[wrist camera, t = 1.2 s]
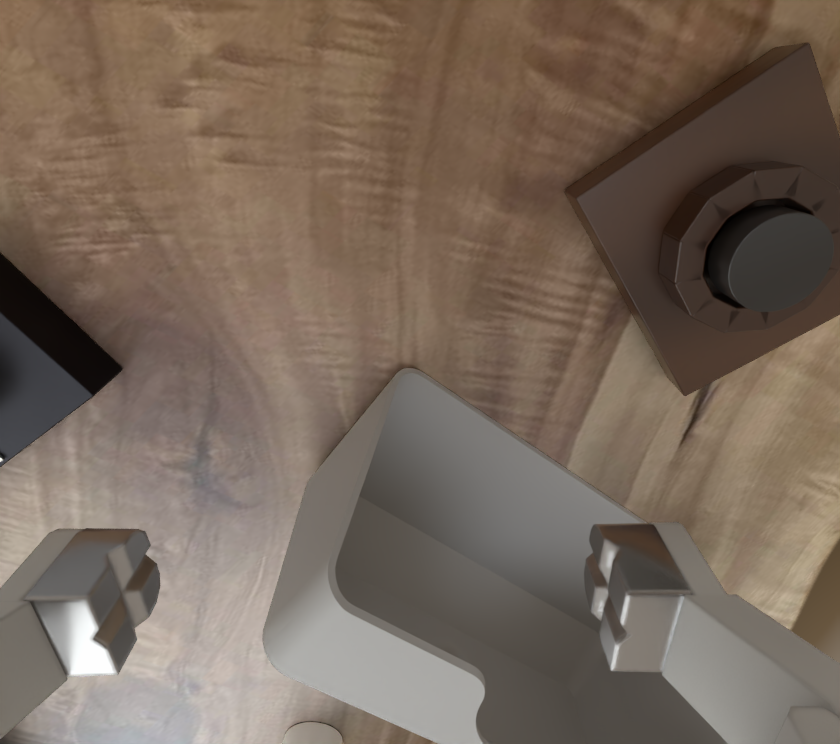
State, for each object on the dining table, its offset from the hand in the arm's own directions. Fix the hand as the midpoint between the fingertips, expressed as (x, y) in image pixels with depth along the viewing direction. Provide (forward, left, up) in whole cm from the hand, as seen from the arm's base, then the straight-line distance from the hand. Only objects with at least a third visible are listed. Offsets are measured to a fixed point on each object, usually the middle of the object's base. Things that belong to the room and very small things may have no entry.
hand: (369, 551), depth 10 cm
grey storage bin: (+18, -7, -19) cm, 27 cm away
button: (+7, +13, -15) cm, 21 cm away
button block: (+7, +13, -19) cm, 24 cm away
